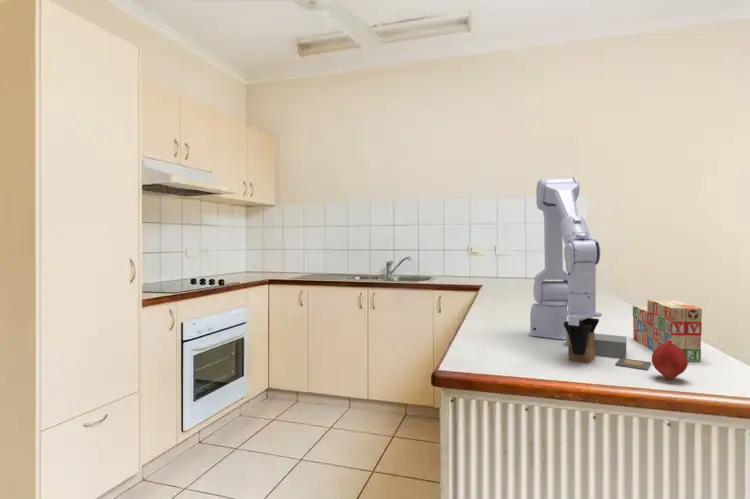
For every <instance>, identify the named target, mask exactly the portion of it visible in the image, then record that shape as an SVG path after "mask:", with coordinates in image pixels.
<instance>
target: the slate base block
mask: <svg viewBox="0 0 750 499" xmlns="http://www.w3.org/2000/svg"><path fill="white" fill-rule="evenodd" d="M595 357H606V358H615V359H620V358H625V359H627V336H625V335H624V336H623V335H615V334H603V333H595Z"/></svg>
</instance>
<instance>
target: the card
mask: <svg viewBox="0 0 750 499" xmlns="http://www.w3.org/2000/svg"><path fill="white" fill-rule="evenodd" d="M614 364H615V366H616V367H623V368H629V369H637V370H643V371H649V369H650V367H651V365H652V361H644V360H638V359H630V358H626V359H625V358H618V359H617V361H616V362H615V363H614Z"/></svg>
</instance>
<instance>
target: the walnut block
mask: <svg viewBox="0 0 750 499" xmlns="http://www.w3.org/2000/svg"><path fill="white" fill-rule="evenodd" d="M595 334H596V333H595V331H594V332H589V334H588V337H587V342H586V349H585V353H584V355H578V354H574V353H573V350H572V346H571V341H570V338H569V335H568V346H567V347H568V349H567V350H568V360H569V361H575V362H580V363H581V362H583V363H587V364H590V363H592V362H593V361H594V360H595V357H596V356H595Z"/></svg>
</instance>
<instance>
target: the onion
mask: <svg viewBox="0 0 750 499" xmlns="http://www.w3.org/2000/svg"><path fill="white" fill-rule="evenodd" d="M688 364H689V362H688V360H687V357H686V355H685V353H684V352H683V351H682V350H681V349H680V348H679V347H678V346H676V345H675V344H674V343H673V340H672V339H668V340H667V341H666V342H665V343H663V344H661V345H659V346H658V347H657V348H656V349H655V351H652V354H651V365H652V366H653V367H654V369H655V370H656V371H657V372H658V373H660V374H661V375H662V376H663V377H665V379H666V380H674V379H675V378H676V377H678V376H680V375H682V374H683V373H684V372H685V371H686V370H687V368H688Z"/></svg>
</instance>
